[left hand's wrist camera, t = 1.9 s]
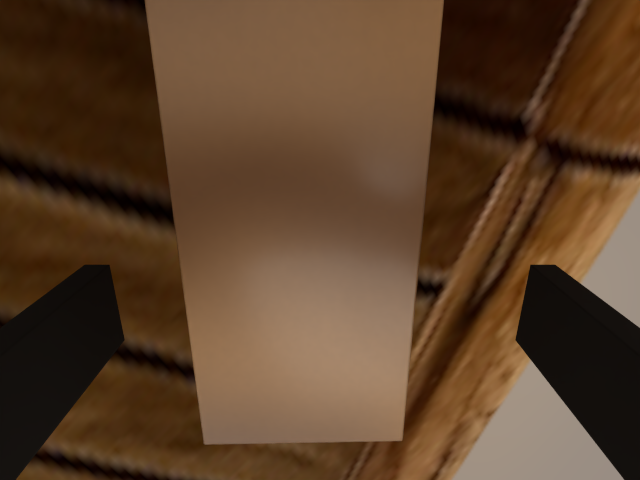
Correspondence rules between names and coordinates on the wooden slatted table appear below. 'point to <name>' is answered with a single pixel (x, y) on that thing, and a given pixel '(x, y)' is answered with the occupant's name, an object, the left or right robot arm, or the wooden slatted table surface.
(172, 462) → the wooden slatted table surface
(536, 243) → the wooden slatted table surface
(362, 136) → the bar
